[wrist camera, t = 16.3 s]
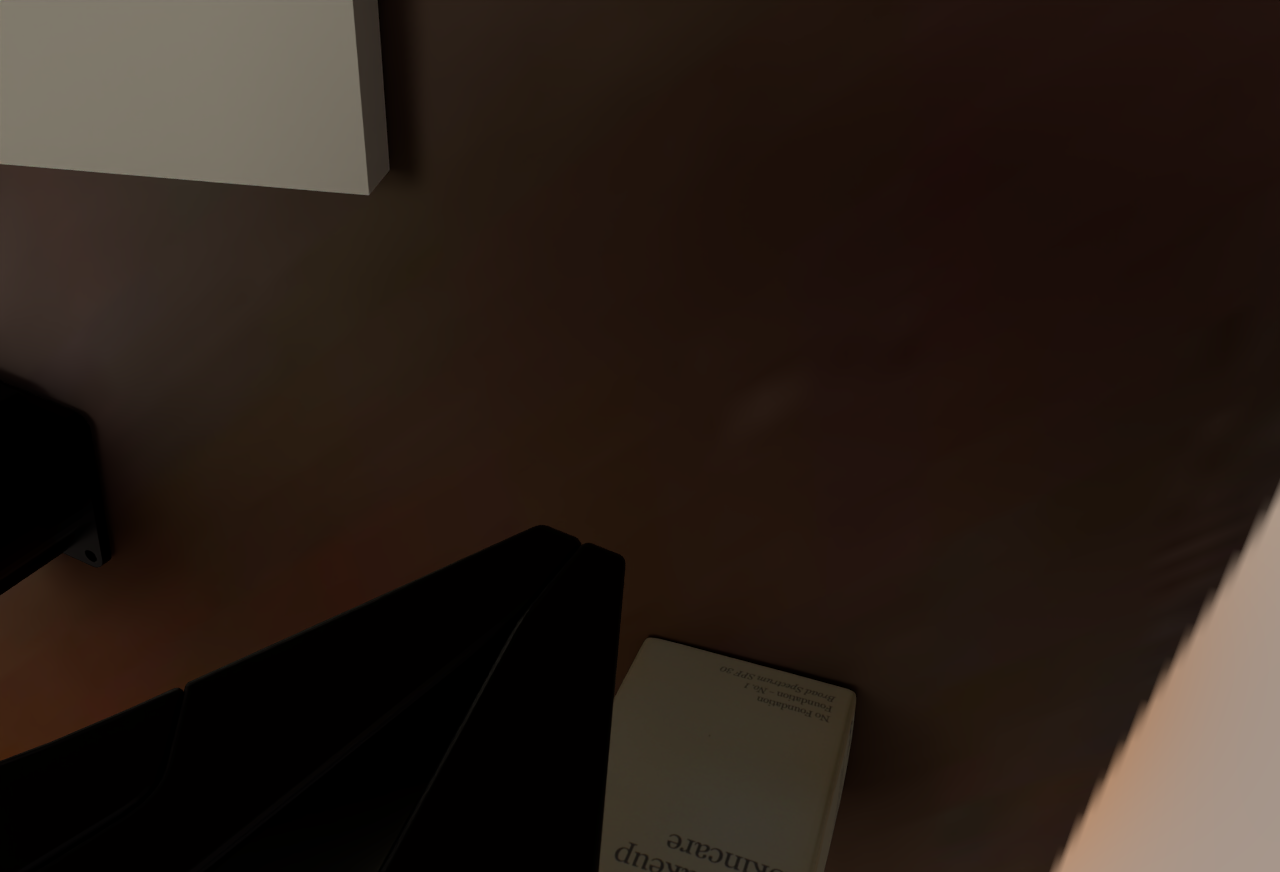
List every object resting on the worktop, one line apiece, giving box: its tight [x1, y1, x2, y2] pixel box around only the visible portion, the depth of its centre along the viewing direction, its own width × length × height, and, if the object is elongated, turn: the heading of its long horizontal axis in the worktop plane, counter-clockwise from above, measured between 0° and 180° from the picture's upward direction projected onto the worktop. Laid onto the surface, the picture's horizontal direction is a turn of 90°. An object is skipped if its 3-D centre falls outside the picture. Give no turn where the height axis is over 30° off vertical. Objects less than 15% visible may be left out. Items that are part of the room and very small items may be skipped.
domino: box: [0, 0, 390, 195], centre depth 20 cm, size 2×5×10 cm
